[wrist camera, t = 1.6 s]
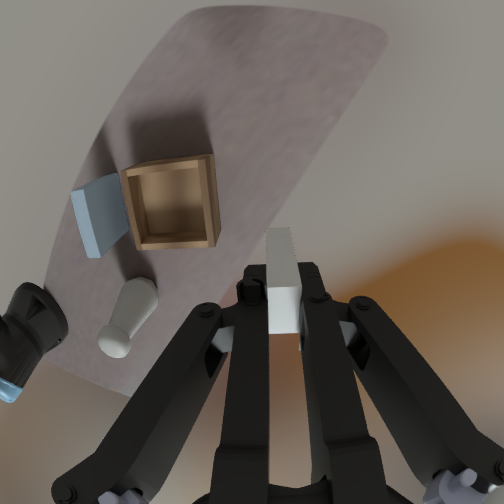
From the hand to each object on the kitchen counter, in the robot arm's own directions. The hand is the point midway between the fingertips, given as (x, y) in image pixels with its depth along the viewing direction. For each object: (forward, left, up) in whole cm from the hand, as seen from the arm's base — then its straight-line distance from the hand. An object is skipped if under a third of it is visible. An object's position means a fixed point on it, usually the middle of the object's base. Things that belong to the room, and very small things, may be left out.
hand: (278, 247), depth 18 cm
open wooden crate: (-11, 0, -15) cm, 19 cm away
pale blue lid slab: (-20, 0, -15) cm, 25 cm away
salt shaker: (-19, -14, -16) cm, 28 cm away
